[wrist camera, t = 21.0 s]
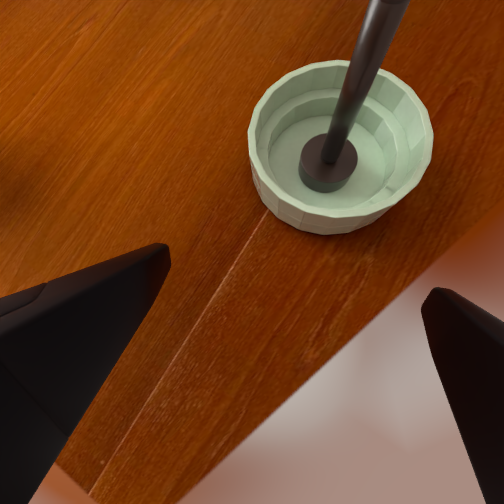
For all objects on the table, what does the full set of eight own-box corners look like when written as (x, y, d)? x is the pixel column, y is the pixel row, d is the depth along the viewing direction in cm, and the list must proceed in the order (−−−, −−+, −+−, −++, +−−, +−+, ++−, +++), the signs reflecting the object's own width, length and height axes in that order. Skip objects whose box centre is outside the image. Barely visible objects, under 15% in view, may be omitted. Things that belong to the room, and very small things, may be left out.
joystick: (308, 200, 22) (367, 30, 9) (291, 155, 24) (318, -58, 10) (359, 183, 22) (502, -15, 8) (339, 140, 24) (436, -98, 10)
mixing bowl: (388, 251, 21) (422, 235, 17) (237, 219, 23) (228, 196, 18) (407, 118, 24) (441, 70, 19) (270, 99, 26) (270, 51, 21)
